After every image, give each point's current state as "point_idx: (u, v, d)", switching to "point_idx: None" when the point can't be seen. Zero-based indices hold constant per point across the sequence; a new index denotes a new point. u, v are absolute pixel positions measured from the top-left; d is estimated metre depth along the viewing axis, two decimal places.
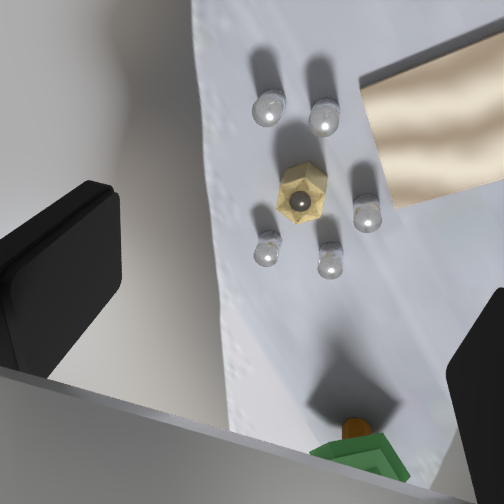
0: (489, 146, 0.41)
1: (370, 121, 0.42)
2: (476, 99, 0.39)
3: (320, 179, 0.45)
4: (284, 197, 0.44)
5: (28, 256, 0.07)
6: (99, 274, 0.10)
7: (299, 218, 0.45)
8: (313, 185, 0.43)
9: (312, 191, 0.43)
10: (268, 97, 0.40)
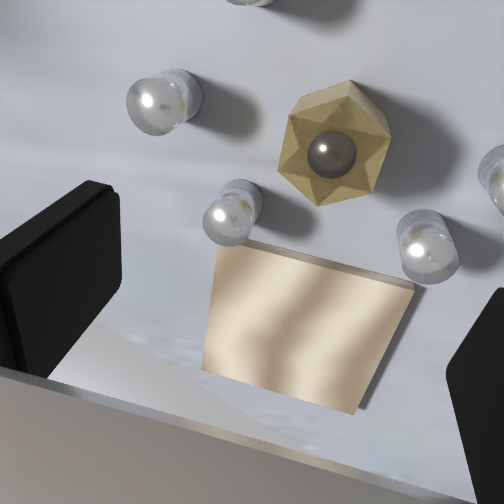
0: (249, 354, 0.34)
1: (365, 279, 0.28)
2: (309, 367, 0.33)
3: None
4: (361, 130, 0.19)
5: (27, 256, 0.07)
6: (99, 274, 0.10)
7: (297, 130, 0.20)
8: (346, 197, 0.21)
9: (336, 189, 0.21)
10: None
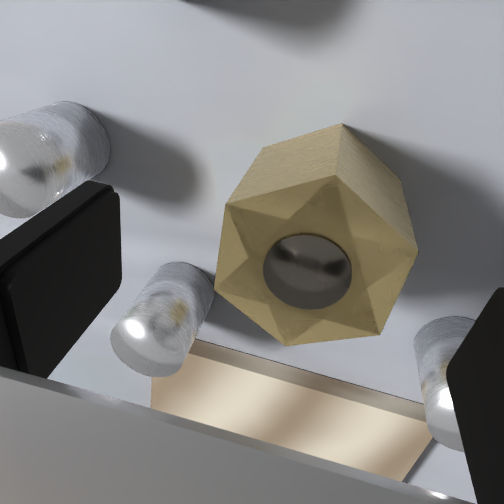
0: None
1: (366, 407, 0.19)
2: None
3: None
4: (360, 236, 0.10)
5: (28, 256, 0.07)
6: (99, 274, 0.10)
7: (243, 229, 0.11)
8: (334, 337, 0.12)
9: (316, 323, 0.12)
10: None
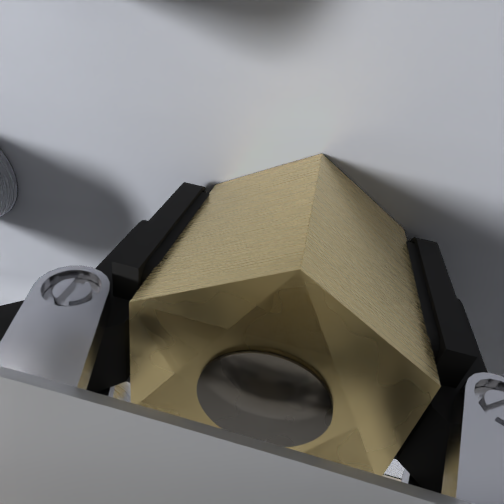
0: None
1: None
2: None
3: None
4: (345, 359, 0.06)
5: (160, 252, 0.08)
6: None
7: (162, 339, 0.07)
8: None
9: None
10: None
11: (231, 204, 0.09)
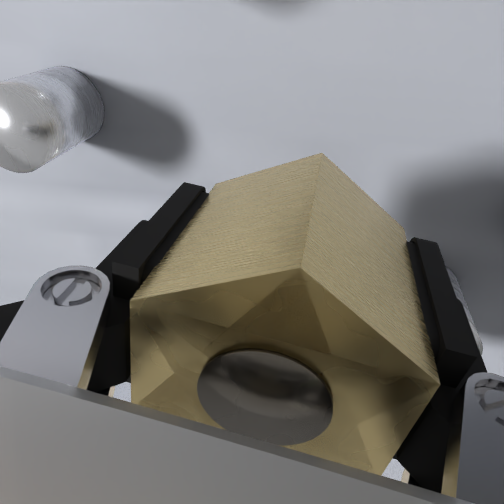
0: None
1: None
2: None
3: None
4: (345, 358, 0.06)
5: (160, 252, 0.08)
6: None
7: (162, 337, 0.07)
8: None
9: None
10: None
11: (231, 203, 0.09)
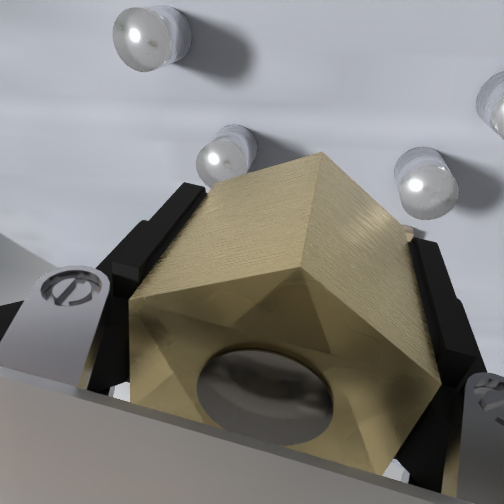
0: None
1: None
2: None
3: None
4: (345, 357, 0.06)
5: (160, 252, 0.08)
6: None
7: (162, 337, 0.07)
8: None
9: None
10: None
11: (231, 202, 0.09)
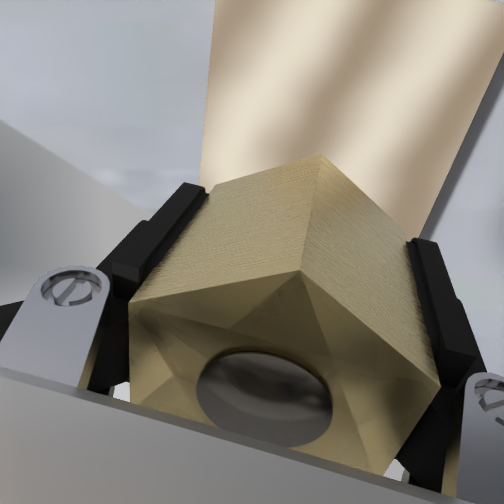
0: None
1: None
2: None
3: None
4: (345, 360, 0.06)
5: (160, 252, 0.08)
6: None
7: (161, 339, 0.07)
8: None
9: None
10: None
11: (231, 204, 0.09)
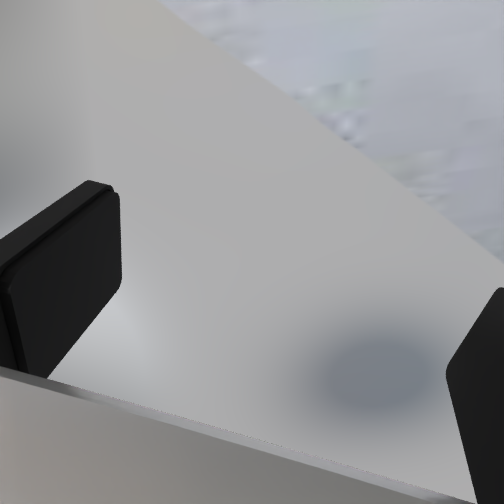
0: None
1: None
2: None
3: None
4: None
5: (28, 256, 0.07)
6: (99, 274, 0.10)
7: None
8: None
9: None
10: None
11: None
